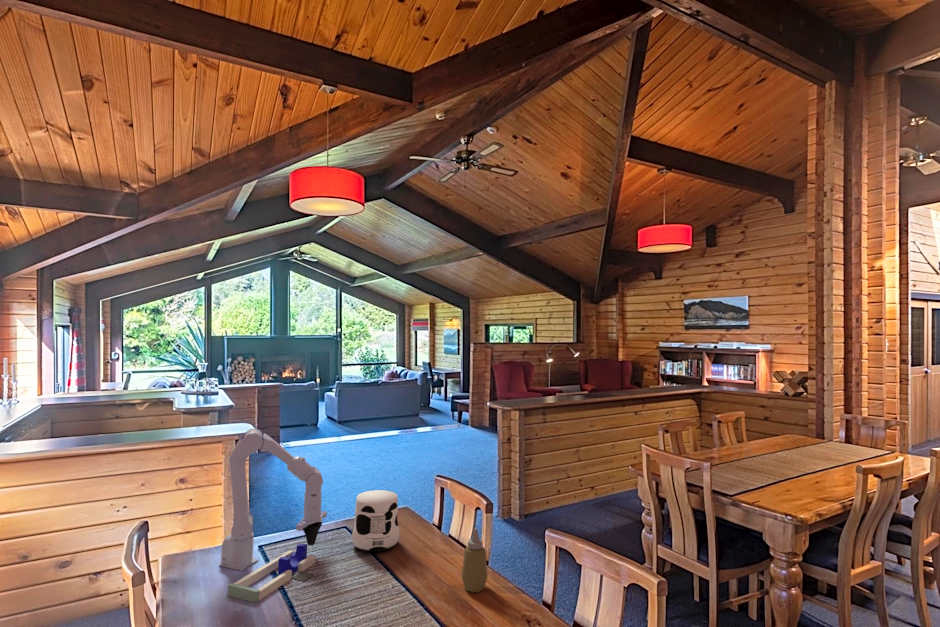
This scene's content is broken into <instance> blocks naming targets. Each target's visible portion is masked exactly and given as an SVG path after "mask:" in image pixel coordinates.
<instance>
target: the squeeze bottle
mask: <svg viewBox="0 0 940 627" xmlns="http://www.w3.org/2000/svg"><path fill="white" fill-rule="evenodd" d="M472 531H473V532H472V535H471V538H470V539H468V540H467V546H466V547H465V548H464V555H463V561H462V570H461V579H462V582H463V583H462V584H463V585H464V586H463V587H464V589H465V591H466V592H469V591H471V592H470V593H474V592H476V593H479V592H478V591H481V590H482V589H483V590H484V588H485V586H486V583H487V579H488V567H487V552H486V548H485V547H484V546H483V545H484V541H483V540H482V539H481V538H480V535H479V531H478V528H473V530H472ZM483 590H482V591H483ZM482 591H481V592H482Z"/></svg>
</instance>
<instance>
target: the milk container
mask: <svg viewBox="0 0 940 627" xmlns="http://www.w3.org/2000/svg"><path fill="white" fill-rule="evenodd" d="M398 499H399V498H398V494H397V493H396V492H393V491H391V490H390V491H389V490H386V489H385V490H384V489H380V490H379V489H377V490H368V491H364V492H361V493H359V494H358V495H356V500H355V508H354V512H355V513H354V516H355V517H354V523H353V526H352V531H351V540H352V544H353V546H354V547H355V548H357V549H358V550H360V551H364V552H382V551H386V550H389V549H391V548H392V547H394V546H395V545H396V544H397V543H398V541H399V537H400V525H399V521H398V512H399V510H398V509H399V507H398V505H399V500H398Z"/></svg>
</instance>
